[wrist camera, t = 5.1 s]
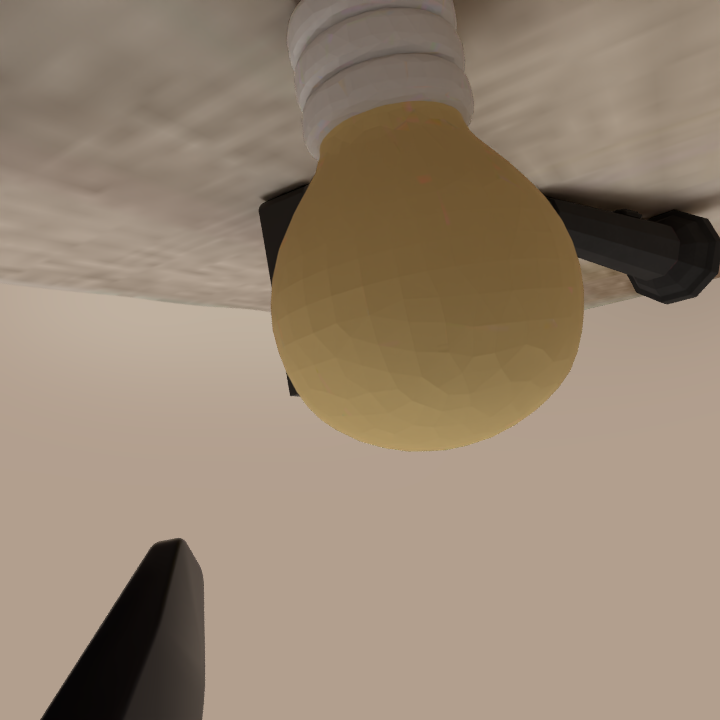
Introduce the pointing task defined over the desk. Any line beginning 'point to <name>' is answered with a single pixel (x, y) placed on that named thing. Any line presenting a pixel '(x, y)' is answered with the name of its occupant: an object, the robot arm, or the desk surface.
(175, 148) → the desk surface
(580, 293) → the light bulb
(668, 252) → the microphone
